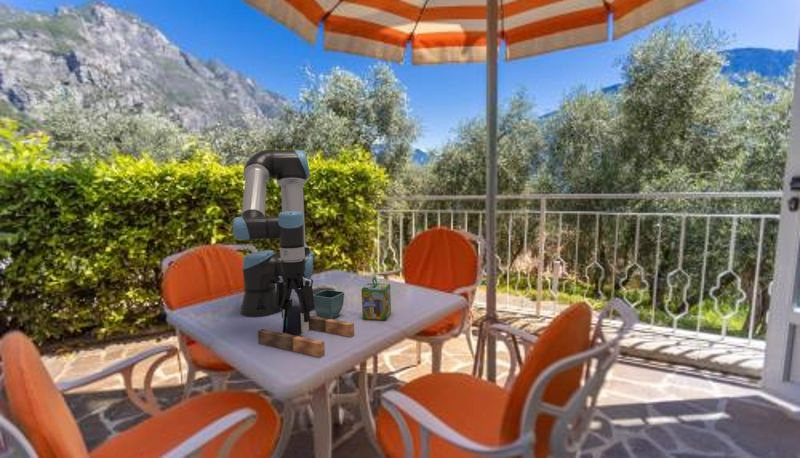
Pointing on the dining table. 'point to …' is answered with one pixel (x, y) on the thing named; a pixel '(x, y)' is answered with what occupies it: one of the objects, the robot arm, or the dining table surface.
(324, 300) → the flower pot
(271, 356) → the dining table surface
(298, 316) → the speaker
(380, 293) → the chalk box
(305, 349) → the channel
